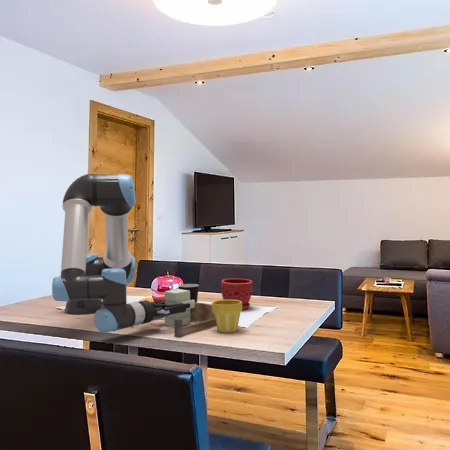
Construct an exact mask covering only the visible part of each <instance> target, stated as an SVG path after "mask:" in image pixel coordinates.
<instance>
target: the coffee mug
mask: <svg viewBox="0 0 450 450" xmlns="http://www.w3.org/2000/svg"><path fill="white" fill-rule="evenodd" d="M177 287H178V288H177V289H181V290H189V291H190V300H195V302H198V298H199V289H200V288H199V287H200V285H199V284H196V283H185V284H184V283H183V284H179V285H178V286H177Z"/></svg>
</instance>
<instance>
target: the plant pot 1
mask: <svg viewBox="0 0 450 450" xmlns="http://www.w3.org/2000/svg"><path fill="white" fill-rule="evenodd" d="M220 285H221V286H220V288H221V290H220V291H221V296H222V300H239V301H241V302H242V311H244V310H247V309H248V308H250V306H251V304H250V300H251V297H252V293H253V280H251V279H247V278H236V277H235V278H232V277H231V278H224V279H222V280H221V283H220Z"/></svg>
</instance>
